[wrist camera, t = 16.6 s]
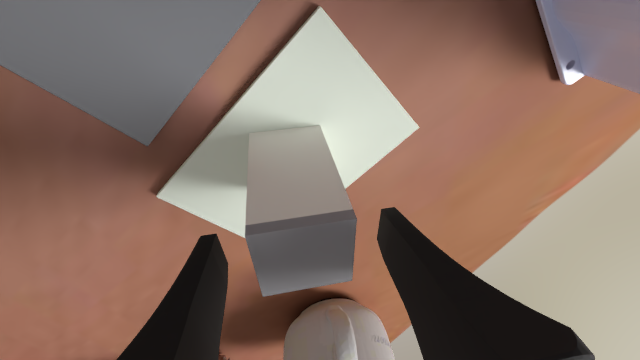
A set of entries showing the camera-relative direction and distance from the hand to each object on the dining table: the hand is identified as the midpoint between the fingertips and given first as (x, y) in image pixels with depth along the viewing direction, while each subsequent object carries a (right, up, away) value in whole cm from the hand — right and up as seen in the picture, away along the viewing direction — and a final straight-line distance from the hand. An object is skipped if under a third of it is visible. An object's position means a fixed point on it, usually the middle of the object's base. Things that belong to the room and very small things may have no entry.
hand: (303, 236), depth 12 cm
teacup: (+2, -11, +17) cm, 21 cm away
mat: (-1, +4, +5) cm, 6 cm away
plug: (-1, +4, +5) cm, 6 cm away
